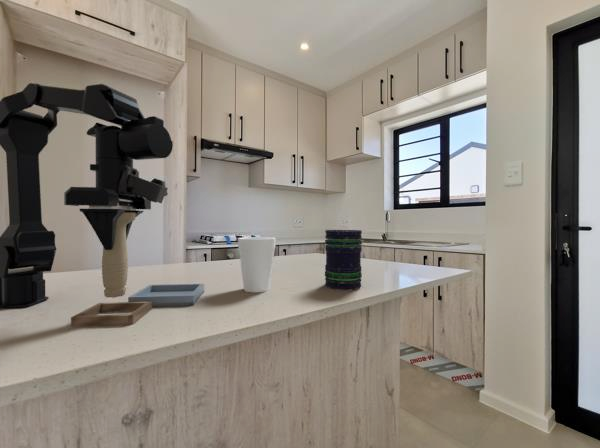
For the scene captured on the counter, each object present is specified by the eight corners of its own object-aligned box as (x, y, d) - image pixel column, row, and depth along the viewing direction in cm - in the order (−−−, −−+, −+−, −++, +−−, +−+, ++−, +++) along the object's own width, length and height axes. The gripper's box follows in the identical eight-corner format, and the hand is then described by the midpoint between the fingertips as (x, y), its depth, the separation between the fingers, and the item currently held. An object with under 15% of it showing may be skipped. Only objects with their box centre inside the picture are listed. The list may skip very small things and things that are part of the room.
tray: (128, 307, 60) (128, 297, 60) (149, 293, 72) (149, 284, 72) (193, 305, 62) (193, 295, 62) (204, 291, 73) (204, 283, 73)
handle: (97, 294, 55) (97, 212, 55) (136, 291, 58) (136, 213, 57) (90, 301, 51) (90, 211, 51) (133, 297, 53) (133, 212, 53)
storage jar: (367, 289, 77) (368, 231, 77) (331, 290, 75) (331, 231, 75) (353, 281, 87) (353, 229, 87) (320, 282, 85) (320, 229, 85)
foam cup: (278, 286, 80) (278, 237, 80) (271, 294, 71) (272, 239, 71) (243, 285, 81) (243, 236, 81) (232, 293, 72) (232, 239, 72)
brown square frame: (71, 326, 49) (71, 317, 49) (99, 310, 58) (99, 302, 58) (133, 324, 51) (133, 315, 51) (151, 309, 59) (151, 301, 59)
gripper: (142, 151, 46) (142, 254, 46) (176, 170, 64) (176, 244, 64) (61, 148, 44) (62, 254, 44) (120, 169, 63) (120, 244, 63)
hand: (115, 248), depth 54 cm, fingers closed on handle, 4 cm apart
